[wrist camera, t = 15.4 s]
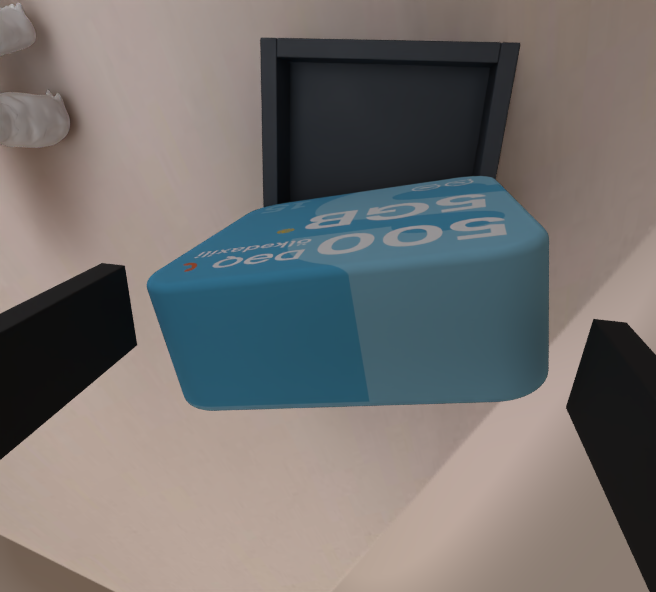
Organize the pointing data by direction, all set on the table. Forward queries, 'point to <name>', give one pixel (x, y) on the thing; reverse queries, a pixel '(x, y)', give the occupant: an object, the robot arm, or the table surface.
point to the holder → (379, 113)
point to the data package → (363, 302)
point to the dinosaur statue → (23, 108)
